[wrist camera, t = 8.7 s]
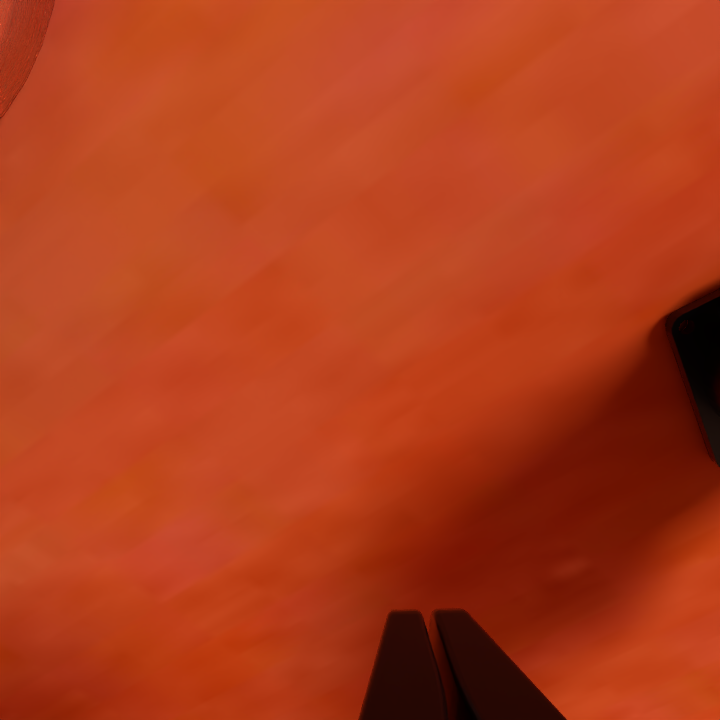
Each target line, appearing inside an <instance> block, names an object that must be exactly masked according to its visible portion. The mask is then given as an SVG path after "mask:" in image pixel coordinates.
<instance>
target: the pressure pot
mask: <svg viewBox="0 0 720 720" xmlns="http://www.w3.org/2000/svg"><path fill="white" fill-rule="evenodd" d="M54 1H55V0H0V118H1V117H2V115H3V114H4V113H5V112H6V110H7V109H8V107H9V106H10V104H11V103H12V101H13V100H14V98H15V97H16V95H17V94H18V92H19V91H20V89H21V87H22V86H23V84H24V83H25V81H26V79H27V77H28V75H29V73H30V71H31V68H32V66H33V64H34V62H35V59H36V57H37V55H38V53H39V51H40V48H41V46H42V44H43V40H44V37H45V33H46V30H47V27H48V23H49V20H50V16H51V13H52V9H53V6H54Z"/></svg>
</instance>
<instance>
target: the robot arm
mask: <svg viewBox="0 0 720 720" xmlns="http://www.w3.org/2000/svg"><path fill="white" fill-rule="evenodd" d="M685 320H688V324H687V326H686V328H684V329H683V330H680V331H679V327H680V325H681V323H682V322H684V321H685ZM665 327H666V332H667V335H668V338H669V341H670V344H671V346H672V349H673V352H674V355H675V358H676V361H677V364H678V367H679V369H680V372H681V375H682V378H683V381H684V384H685V387H686V390H687V392H688V395H689V398H690V401H691V404H692V407H693V410H694V412H695V415H696V418H697V421H698V424H699V427H700V430H701V433H702V435H703V438H704V441H705V444H706V447H707V450H708V453H709V456H710V458H711V459H712V461H713V462H715V463H716V464H717V465H718V466H719V467H720V289H719V290H717V291H715V292H713V293H711V294H709V295H707V296H705V297H702V298H700V299H698V300H696V301H694V302H692V303H690V304H688V305H686V306H684V307H682V308H680V309H678V310H676V311H675V312H673V313H672V314H671V315H670V316H669V317H668V319H667V321H666V324H665ZM358 720H567V719H566V718H565V717H564V716H563V715H562V714H561V713H560V712H559V711H558V710H557V709H556V707H555V706H554V705H553V704H552V703H551V702H550V701H549V700H548V699H547V698H546V697H545V696H544V694H543V693H542V692H541V691H540V690H539V689H538V688H537V687H536V686H535V685H534V684H533V683H532V682H531V680H530V679H529V678H528V677H527V676H526V675H525V674H524V673H523V672H522V671H521V670H520V669H519V667H518V666H517V665H516V664H515V663H514V662H513V661H512V660H511V659H510V658H509V657H508V656H507V655H506V653H505V652H504V651H503V650H502V649H501V648H500V647H499V646H498V645H497V644H496V643H495V642H494V640H493V639H492V638H491V637H490V636H489V635H488V634H487V633H486V632H485V631H484V630H483V629H482V627H481V626H480V625H479V624H478V623H477V622H476V621H475V620H474V619H473V618H472V617H471V616H470V615H469V613H468V612H466V611H465V610H463V609H436V610H434V611H433V612H432V614H431V617H430V624H429V634H428V632H427V629H426V625H425V622H424V619H423V616H422V614H421V612H420V611H418V610H392V611H390V612H389V613H388V616H387V619H386V623H385V626H384V630H383V633H382V637H381V641H380V644H379V648H378V651H377V655H376V658H375V662H374V666H373V669H372V673H371V676H370V680H369V684H368V687H367V691H366V694H365V698H364V702H363V705H362V709H361V712H360V716H359V719H358Z"/></svg>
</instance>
